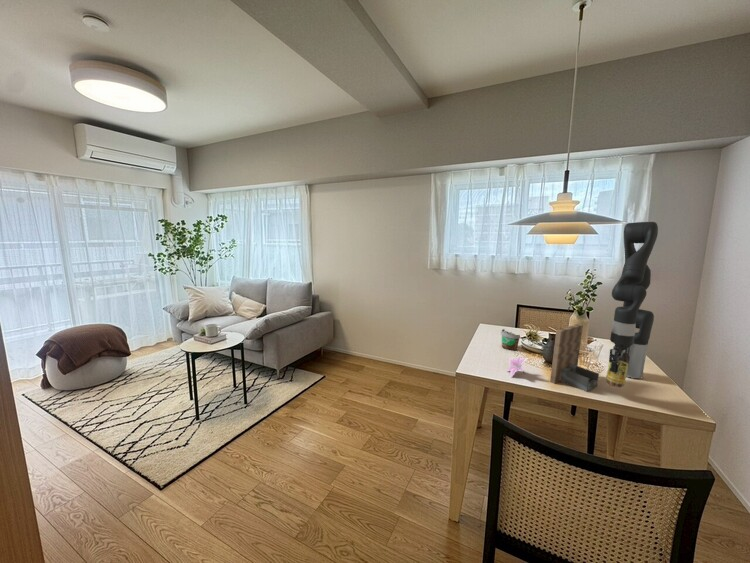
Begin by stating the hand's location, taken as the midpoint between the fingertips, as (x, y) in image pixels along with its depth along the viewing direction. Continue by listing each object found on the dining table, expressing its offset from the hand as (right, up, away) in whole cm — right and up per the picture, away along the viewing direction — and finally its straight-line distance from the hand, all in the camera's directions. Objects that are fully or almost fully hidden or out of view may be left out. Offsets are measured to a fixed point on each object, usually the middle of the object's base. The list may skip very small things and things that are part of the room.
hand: (617, 369), depth 127 cm
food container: (-24, -3, +53) cm, 58 cm away
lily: (-34, -8, +20) cm, 40 cm away
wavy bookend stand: (-9, -10, +12) cm, 18 cm away
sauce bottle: (0, -7, +1) cm, 7 cm away
